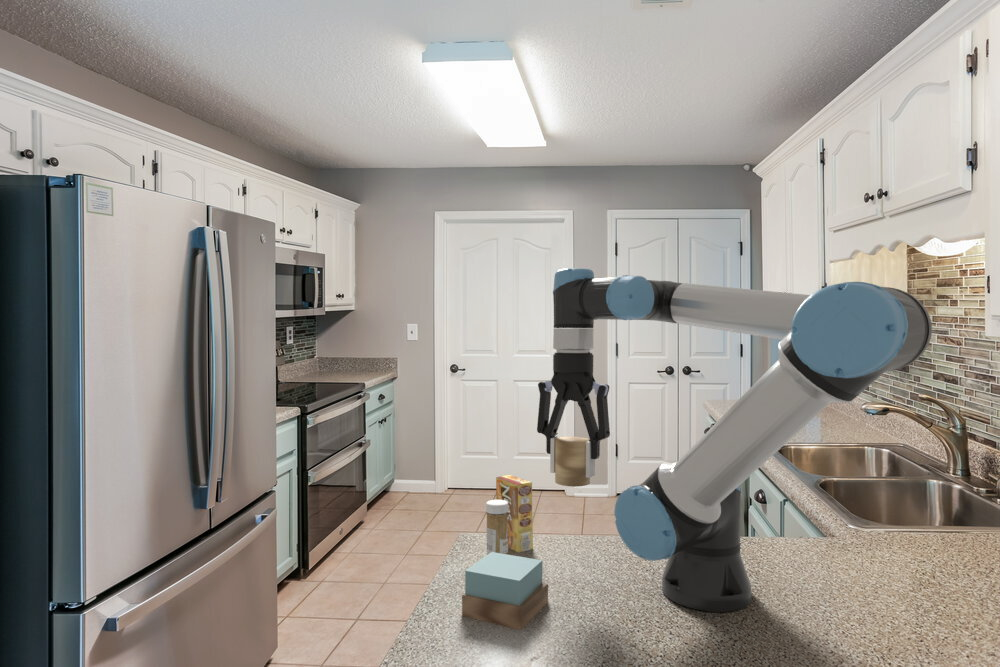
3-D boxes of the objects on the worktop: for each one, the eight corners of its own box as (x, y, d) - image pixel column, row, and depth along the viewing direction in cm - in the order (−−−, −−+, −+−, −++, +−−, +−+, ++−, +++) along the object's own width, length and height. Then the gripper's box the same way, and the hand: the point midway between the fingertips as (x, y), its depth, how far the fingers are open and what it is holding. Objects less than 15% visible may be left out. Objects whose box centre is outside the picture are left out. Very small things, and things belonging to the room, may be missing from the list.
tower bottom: (548, 606, 108) (548, 583, 108) (520, 633, 99) (520, 608, 99) (493, 594, 113) (493, 572, 113) (462, 618, 104) (462, 594, 104)
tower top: (542, 583, 109) (542, 560, 109) (519, 605, 100) (519, 580, 100) (491, 573, 113) (491, 551, 113) (465, 594, 104) (465, 570, 104)
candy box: (533, 552, 134) (533, 481, 134) (518, 556, 132) (517, 484, 132) (511, 540, 141) (510, 474, 141) (495, 544, 139) (495, 476, 139)
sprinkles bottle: (510, 571, 123) (510, 504, 123) (488, 573, 122) (488, 505, 122) (505, 563, 128) (505, 498, 128) (484, 564, 127) (483, 499, 127)
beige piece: (595, 480, 117) (595, 438, 117) (581, 488, 112) (582, 444, 111) (563, 476, 120) (563, 435, 120) (549, 483, 115) (549, 440, 115)
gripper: (629, 352, 114) (628, 475, 114) (535, 349, 124) (535, 464, 124) (616, 353, 108) (615, 484, 108) (518, 350, 117) (517, 471, 117)
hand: (572, 473), depth 116 cm, fingers closed on beige piece, 6 cm apart
